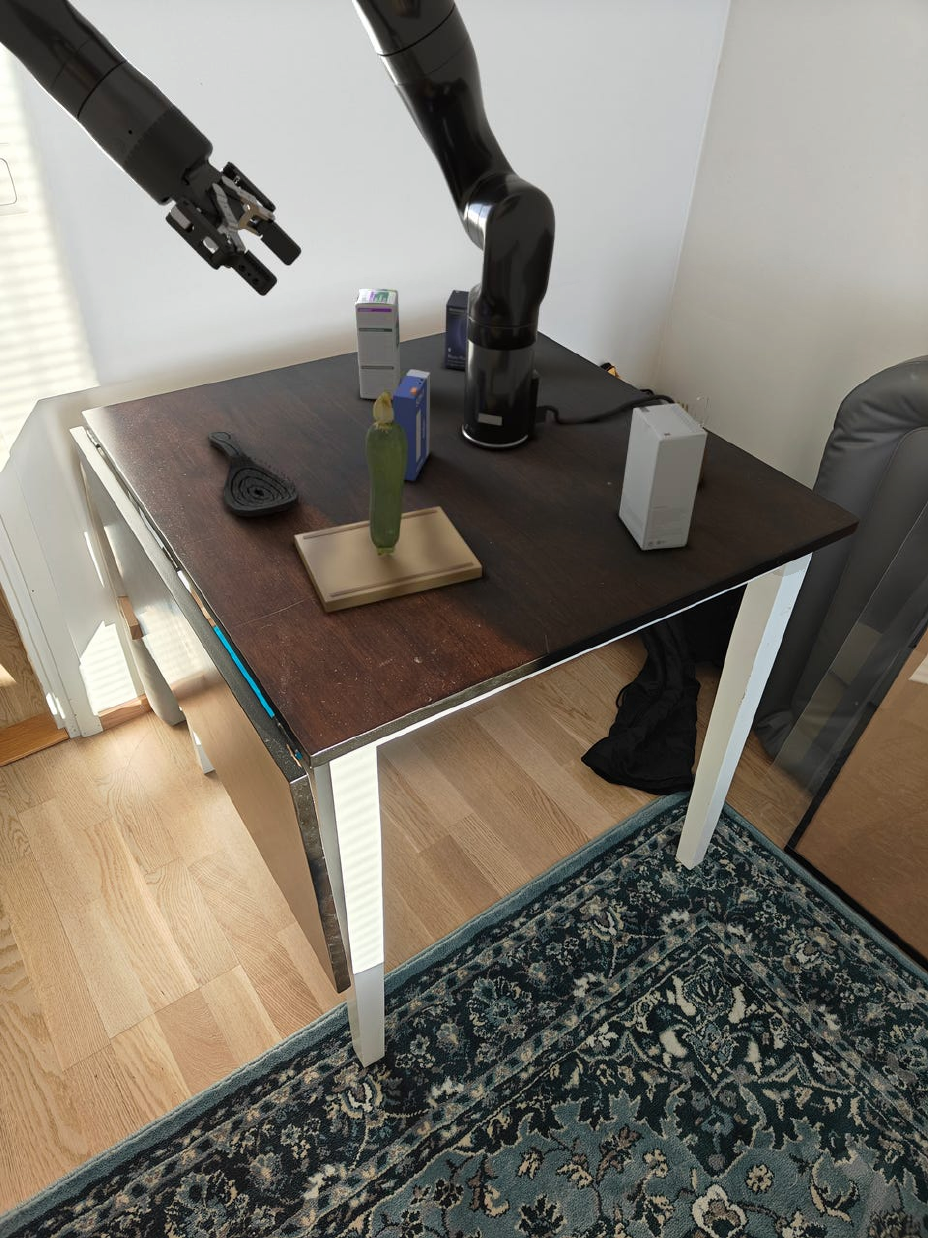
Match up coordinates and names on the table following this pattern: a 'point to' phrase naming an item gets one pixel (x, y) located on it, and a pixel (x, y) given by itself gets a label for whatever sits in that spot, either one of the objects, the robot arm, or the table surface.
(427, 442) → the walkman
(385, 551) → the vegetable
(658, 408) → the cosmetic box
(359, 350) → the syrup box
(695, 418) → the utensil holder
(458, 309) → the small box
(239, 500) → the hairbrush
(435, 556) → the cutting board
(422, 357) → the table surface
